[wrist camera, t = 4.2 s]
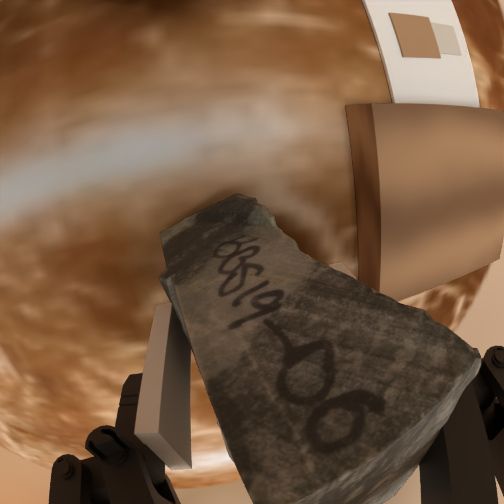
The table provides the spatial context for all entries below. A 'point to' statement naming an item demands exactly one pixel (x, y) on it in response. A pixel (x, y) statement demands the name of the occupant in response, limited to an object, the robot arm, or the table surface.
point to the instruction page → (423, 52)
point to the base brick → (426, 193)
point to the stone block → (308, 361)
